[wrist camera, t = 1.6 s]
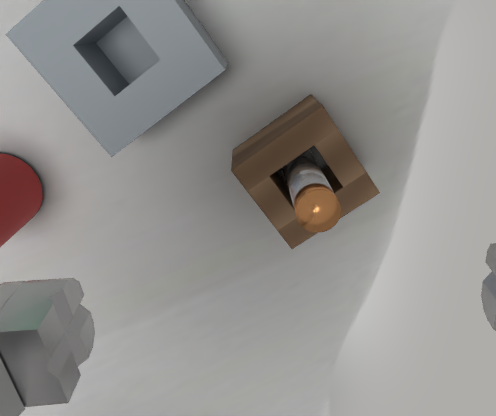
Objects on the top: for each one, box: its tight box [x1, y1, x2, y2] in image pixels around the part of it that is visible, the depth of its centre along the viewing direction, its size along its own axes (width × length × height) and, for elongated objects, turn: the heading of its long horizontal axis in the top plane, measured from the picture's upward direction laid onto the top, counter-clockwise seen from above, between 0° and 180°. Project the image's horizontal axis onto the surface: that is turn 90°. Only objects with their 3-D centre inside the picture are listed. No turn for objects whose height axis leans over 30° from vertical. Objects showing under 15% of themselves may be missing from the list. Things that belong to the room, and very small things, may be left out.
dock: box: [6, 0, 228, 157], centre depth 33 cm, size 10×10×7 cm
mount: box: [231, 95, 380, 249], centre depth 37 cm, size 8×8×6 cm
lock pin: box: [283, 149, 341, 232], centre depth 34 cm, size 3×3×12 cm
